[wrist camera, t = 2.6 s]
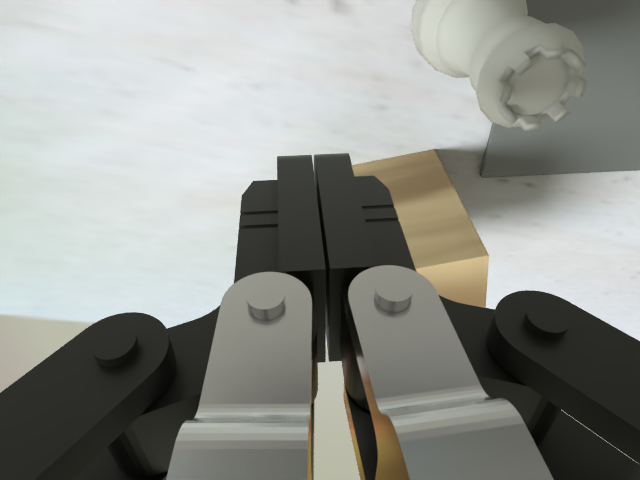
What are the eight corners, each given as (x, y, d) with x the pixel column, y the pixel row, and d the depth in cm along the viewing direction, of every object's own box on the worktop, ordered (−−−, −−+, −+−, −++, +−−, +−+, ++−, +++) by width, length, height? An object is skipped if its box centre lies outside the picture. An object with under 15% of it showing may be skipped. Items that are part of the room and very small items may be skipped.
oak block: (346, 166, 25) (370, 276, 18) (434, 149, 24) (489, 255, 18) (357, 233, 27) (382, 347, 21) (436, 218, 27) (483, 329, 21)
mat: (587, -262, 15) (591, -263, 15) (885, -261, 16) (894, -263, 15) (480, 174, 25) (482, 177, 25) (662, 165, 26) (665, 168, 26)
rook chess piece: (533, -37, 19) (656, 24, 13) (489, 73, 22) (573, 166, 16) (427, -59, 18) (504, -4, 12) (395, 59, 21) (445, 150, 15)
